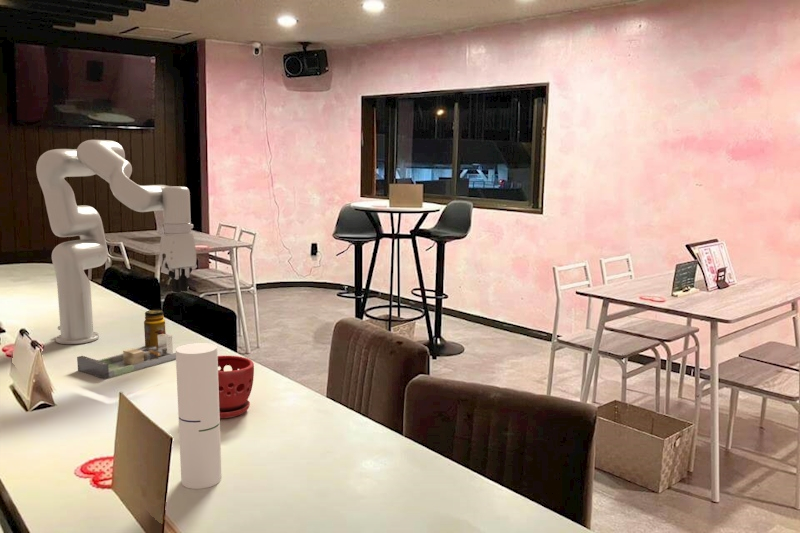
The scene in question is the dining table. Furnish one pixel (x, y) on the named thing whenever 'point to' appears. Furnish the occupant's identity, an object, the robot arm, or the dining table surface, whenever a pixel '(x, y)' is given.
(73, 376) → the dining table surface
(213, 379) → the cylindrical container
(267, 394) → the dining table surface
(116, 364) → the tray
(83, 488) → the dining table surface
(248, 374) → the plant pot
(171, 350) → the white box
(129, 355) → the beech block
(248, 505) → the dining table surface
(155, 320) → the condiment
